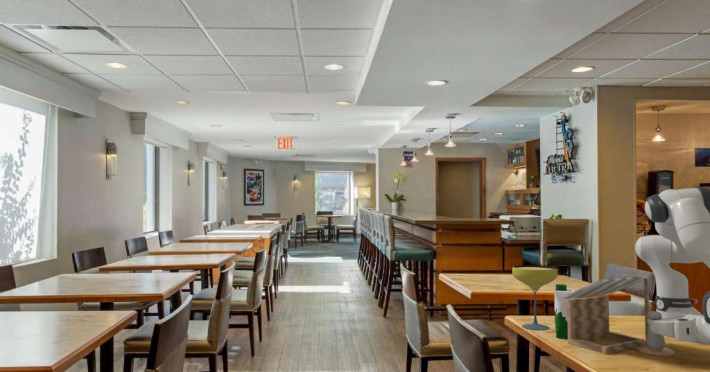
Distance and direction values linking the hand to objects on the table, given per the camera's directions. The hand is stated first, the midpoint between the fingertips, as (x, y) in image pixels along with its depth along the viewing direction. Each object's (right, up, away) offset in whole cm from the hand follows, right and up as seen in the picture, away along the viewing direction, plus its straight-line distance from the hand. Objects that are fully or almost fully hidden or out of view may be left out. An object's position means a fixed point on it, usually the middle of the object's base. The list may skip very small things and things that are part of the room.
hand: (652, 320), depth 178 cm
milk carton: (-22, -12, +19) cm, 31 cm away
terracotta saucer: (0, -10, -1) cm, 11 cm away
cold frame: (-12, -11, +8) cm, 18 cm away
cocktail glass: (-28, -13, +36) cm, 47 cm away
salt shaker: (0, -10, -1) cm, 10 cm away
